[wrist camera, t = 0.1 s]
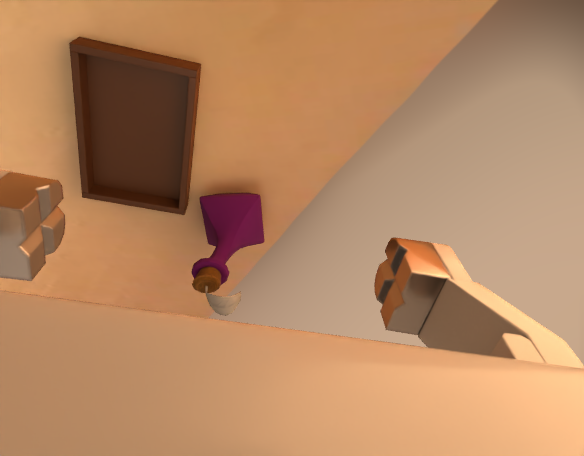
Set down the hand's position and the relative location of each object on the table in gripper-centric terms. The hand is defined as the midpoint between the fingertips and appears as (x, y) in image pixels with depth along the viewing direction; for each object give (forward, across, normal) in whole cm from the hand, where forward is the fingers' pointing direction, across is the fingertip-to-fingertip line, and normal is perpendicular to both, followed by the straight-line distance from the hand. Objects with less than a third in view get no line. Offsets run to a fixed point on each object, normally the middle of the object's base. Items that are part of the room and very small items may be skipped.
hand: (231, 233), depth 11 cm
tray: (+40, +13, +14) cm, 45 cm away
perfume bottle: (+42, 0, +22) cm, 47 cm away
